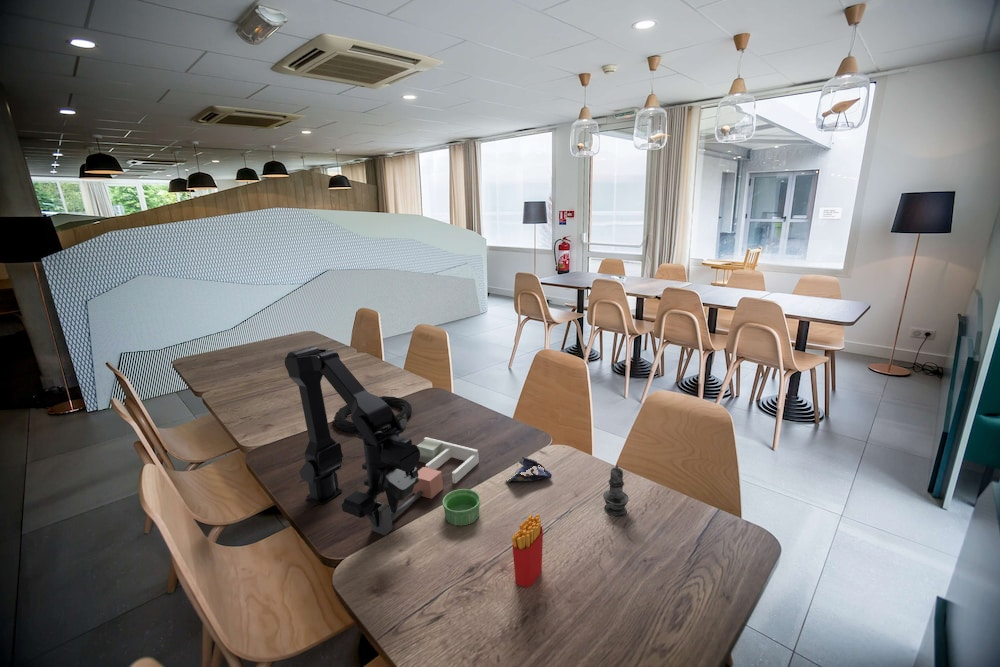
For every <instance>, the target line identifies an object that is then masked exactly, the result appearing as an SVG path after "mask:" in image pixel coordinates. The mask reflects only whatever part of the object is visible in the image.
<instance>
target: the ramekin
mask: <svg viewBox="0 0 1000 667" xmlns="http://www.w3.org/2000/svg"><path fill="white" fill-rule="evenodd" d="M480 504H481V496H480V495H479V493H478V492H476V491H474V490H472V489H467V488H460V489H455V490H452V491H450V492H448V493H447V494H445V496H444V497H443V498H442V508H443V511H444V516H445V519H446V521H447V520H448V521H447V522H448V523H449V522H450V523H449V524H451V523H452V524H451V525H453V524H454V525H453V526H456V525H460V526H459V527H463V526H462V525H465V526H468V524H469V525H471V524H473V523H474V522H476V521H477V520H478V518H479V515H480ZM476 519H477V520H476ZM475 520H476V521H475ZM470 523H471V524H470Z"/></svg>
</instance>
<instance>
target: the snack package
mask: <svg viewBox="0 0 1000 667" xmlns="http://www.w3.org/2000/svg"><path fill="white" fill-rule="evenodd" d="M518 463H519V464H520V465H522V466H521V467H520V468H518V469H517V470H516V471H515V472H514V474H516V473H517V474H516V475H515V476H513V475H512V476H513V477H512V476H511V477H512V478H511V479H509V478H508V479H509V480H508V481H507V480H506V479H505V481H506V482H507V483H508V482H509V483H510V482H511V481H512V482H534V481H538V480H540V479H541V480H542V479H552V476H553V475H552V473H551V472H549V471H548V470H546V469H545V467H544V466H543V465H542V464H541V463H539V462H538V461H537V460H534V459H531V458H529V457H524V456H521V458H519V460H518ZM538 465H540V466H541V467H543V468H544V472H545V473H544V472H543V470H542V469H539V468H537V469H536V470H538V475H536V473H533V472H532V474H533V475H527V476H524V475H521V474H520V473H521V472H526V470H528V469H530V468H532V467H533V466H537V467H538ZM540 466H539V467H540Z"/></svg>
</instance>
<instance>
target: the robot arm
mask: <svg viewBox="0 0 1000 667" xmlns="http://www.w3.org/2000/svg"><path fill="white" fill-rule="evenodd" d="M340 358H341V357H340V355H339V353H338V352H337V351H336V350H333V349H331V350H330V349H328V348H318V347H317V346H315V345H313V346H312V345H311V346H308V347H303V348H301V349H296V350H293V351H290V352H288V353H287V356H286V357H285V358H284V366H285V369H286V370H287V374H288V377H289V378H290V380H292V381H293V382H294V383H295V384H296V385H297V386H298V388H299V389H298V391H299V394H300V399H301V400H300V401H301V404H302V409H303V415H304V420H305V425H306V429H307V436H308V440H309V441H308V443H307V446H306V449H305V451H304V460H305V461H304V462H305V463H304V465H303V466H302V467H301V469H300V470H299V476H300V478H301V480H302V481H305V482H306V483H307V485H308V490H309V494H307V495H306V499H307V500H309V501H311V502H315V503H318V504H320V505H325V504H326V503H328V502H329V501H331V500H332V499H334V498H335V497H337V496H338V495H340V494H342V492H343V489H341V488H339V478H338V473H337V471H338V470H341V469H342V464H343V458H344V454H343V453H342V452H343V450H342V445H341V443H340V442H336V441H335V439H333V438H332V436H331V433H330V428H329V423H328V417H327V411H326V405H325V401H324V396H323V390H322V384H321V383H322V382H321V381H322V379H323V377H324V378H325V379H326V380H327V382H328V383H329V384H330V385H331V386H332V388H334V390H335V391H336V393H337V394H339V396H340V398H341V399H342V400H343V401H344V402H345V404H346V405H348V406H349V408H350V410H351V413H350V419H351V422H354V424H355V426H356V428H357V429H358V431H359V432H360V433H357V434H356V438H357V439H359V440H362V441H363V450H364V460H365V462H364V463H363V464H361V467H362V468H361V469H362V470H365V471H366V475H367V478H366V479H365V480H364V481H363V483H364V484H363V485H364V486H366V487H368V488H367V491H366V492H362V491H358V490H355V491H354V492H352V493H351V494H349V495H348V496H346V497H345V498H343V499H342V500H341V509H342V512H345V513H347V514H350V515H351V516H354V517H357V518H364V517H366V516H367V518H368V519H369V520H370V523H371V522H372V523H373V525H374V526H375V527H379V511H378V509H379V507H380V506H381V505H382V504H380V503H381V502H380V503H377V502H378V497H379V496H380V495H381V494H384V493H385V494H386V499H387V503H388V505H389V506H390V511H391V514H392V513H395V512H396V510H397V509H398V505H399V503H400V502H399V501H403V500H405V498H407V496H409V495H410V494H412V493H413V488H414V485H415V484H416V483H418V482H419V480H418V471H419V469H418V467H417V466H418V464H419V462H420V461H419V459H420V450H419V449H418V447H417V445H416V444H413V441H412V439H411V438H408V437H402V436H400V434H402V433H404V428H402V427H401V425H400V424H401V423H400V422H399V420H398V419H397V418H396V415H395V413H394V411H393V409H392V407H391V405H388V404H387V403H386V402H384V401H383V400H382V399H381V398H380V397H381V396H378V395H375V394H372V393H370V392H368V390H366V389H365V387H364V386H363V385H362V384H361V382H360V381H359V380H358V379H357V378H356V377H355V375H354V374H353V373H352V372H351V371H350V370H349V368H348V367H347V366H346V365H345V364H344V362H343V361H342V360H341V359H340ZM389 425H390V426H391V428H390V429H386V430H383V431H380V430H381V429H383V428H385V427H387V426H389Z"/></svg>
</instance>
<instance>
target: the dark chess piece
mask: <svg viewBox="0 0 1000 667" xmlns="http://www.w3.org/2000/svg"><path fill="white" fill-rule="evenodd" d="M609 477H610V479H609V480H608V484H609V489H608V490H606V491H605V492H604V493H603V500H604V503H605V505H604V507H603V509H604V512H605V513H606V514H607V515H609V516H611V517H614V518H621V517H624V516H626V515H627V512H628V509H627V508H626V506H627V503H628V502H629V496H628V494H627V493H626V492H624V491H623V488H624V485H625V481H624V480H623V477H624V471H623V469H621V467H619V465H618V464H616V465H615V467H612V468H611V469H610V475H609Z"/></svg>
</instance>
